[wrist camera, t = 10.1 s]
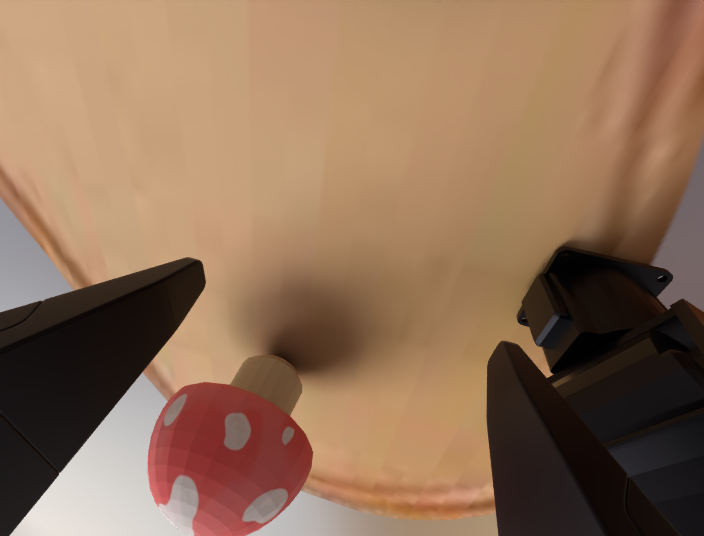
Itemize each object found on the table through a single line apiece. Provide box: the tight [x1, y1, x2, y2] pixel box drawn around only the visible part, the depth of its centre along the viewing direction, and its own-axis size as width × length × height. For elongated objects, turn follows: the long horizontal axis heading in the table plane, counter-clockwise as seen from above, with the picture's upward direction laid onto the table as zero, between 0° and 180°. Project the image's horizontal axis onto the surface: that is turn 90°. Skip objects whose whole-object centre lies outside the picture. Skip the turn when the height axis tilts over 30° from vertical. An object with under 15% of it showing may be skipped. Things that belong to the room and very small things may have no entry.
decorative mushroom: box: [148, 355, 313, 536], centre depth 27 cm, size 13×13×15 cm
